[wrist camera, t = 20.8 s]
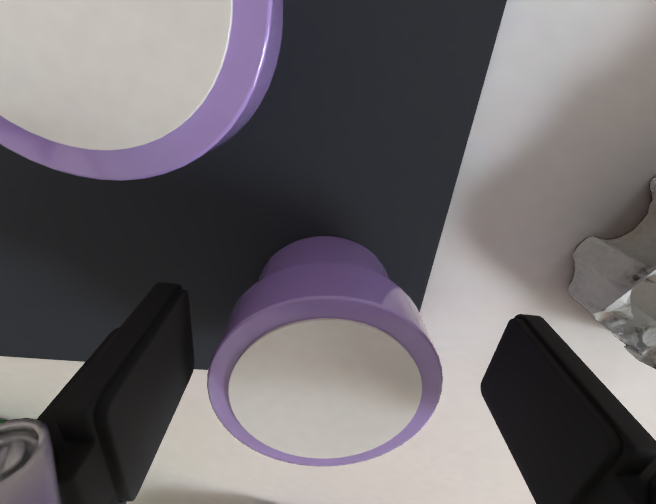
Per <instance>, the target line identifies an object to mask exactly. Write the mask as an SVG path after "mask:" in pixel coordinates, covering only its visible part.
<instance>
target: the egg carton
mask: <svg viewBox="0 0 656 504" xmlns="http://www.w3.org/2000/svg"><path fill="white" fill-rule="evenodd" d="M650 190H651V193H652V198H653V200H652V202H651V204H650V206H649V210H648V214H647V215H646V217H645V218H644V219H643V220H642V221H641V222H640V224H639V225H638V226H637V227H636V228H635V229H634V230H632V231H631V232H630V233H628V234H625V235H623V236H621V237H620V238H616V239H610V240H604V239H599V238H596V237H594V236H593V237H587V238H586V239H585V240H584V241H583V242H582V243H580V244H579V246H578V247H577V248H576V250H575V252H574V253H573V259H574V261H575V262H574V263H575V274H574V277H573V280H572V282H571V283H570V285H569V289H568V291H569V293H570V294H571V296H572V297H573V298H574V299H575V300H576V301H577V302H579V303H580V304H581V305H582V306H583V307H585V308H586V309H587V310H588V311H590V312H591V313H592V314H593V316H594V318H595V319H596V320H597V321H598V322H600V323H601V324H603V325H604V326H605V327H607V328H608V329H610V330H611V332H612V334H613V335H614V336H615V337H617V338H618V339H619V340H620V341H622V342H623V343H624V344H626V346H624V347H625V348H626V350H627V351H629V352H630V353H631V354H632V355H633V356H634V357H635V358H636V359H638V360H639V361H641V362H643V363H645V364H647V365H649V366H651V367H653V368H655V369H656V177H655V178H653V179H652V180H651V183H650Z"/></svg>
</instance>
